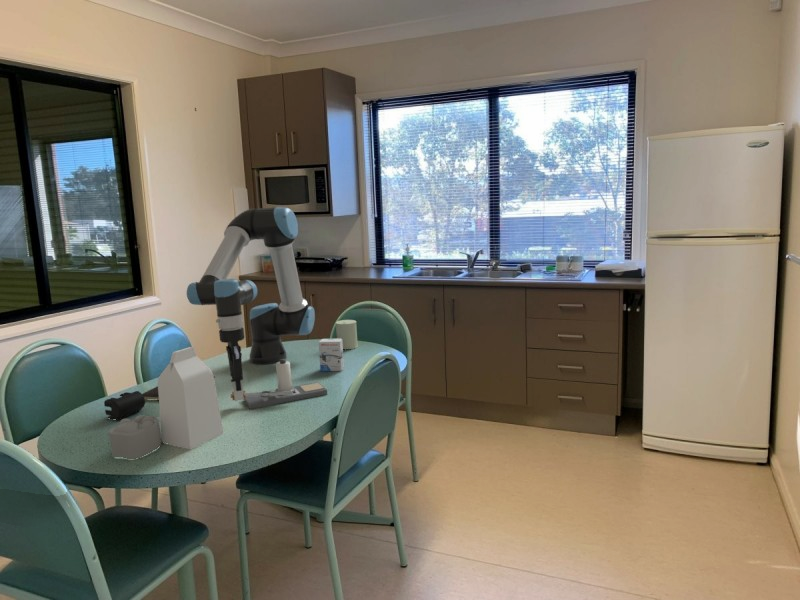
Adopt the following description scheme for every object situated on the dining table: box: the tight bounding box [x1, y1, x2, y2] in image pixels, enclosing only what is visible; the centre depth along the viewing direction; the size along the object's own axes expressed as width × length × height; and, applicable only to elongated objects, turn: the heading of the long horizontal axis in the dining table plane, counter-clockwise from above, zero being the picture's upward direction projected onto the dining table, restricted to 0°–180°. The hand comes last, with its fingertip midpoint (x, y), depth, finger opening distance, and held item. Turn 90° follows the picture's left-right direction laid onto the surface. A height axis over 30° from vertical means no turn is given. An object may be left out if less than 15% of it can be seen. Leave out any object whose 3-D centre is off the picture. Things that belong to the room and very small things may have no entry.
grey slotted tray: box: [243, 381, 328, 410], centre depth 200 cm, size 10×26×3 cm, turn 115°
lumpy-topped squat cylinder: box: [108, 414, 162, 459], centre depth 162 cm, size 10×13×9 cm
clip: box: [230, 390, 293, 401], centre depth 193 cm, size 3×20×3 cm, turn 91°
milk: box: [157, 346, 224, 450], centre depth 167 cm, size 12×12×26 cm
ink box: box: [318, 338, 345, 372], centre depth 228 cm, size 9×5×12 cm, turn 84°
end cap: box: [103, 390, 146, 421], centre depth 190 cm, size 10×7×7 cm
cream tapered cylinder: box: [335, 319, 359, 351], centre depth 261 cm, size 9×9×12 cm
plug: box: [274, 358, 296, 396], centre depth 199 cm, size 7×7×13 cm
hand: (239, 399), depth 191 cm, fingers closed
